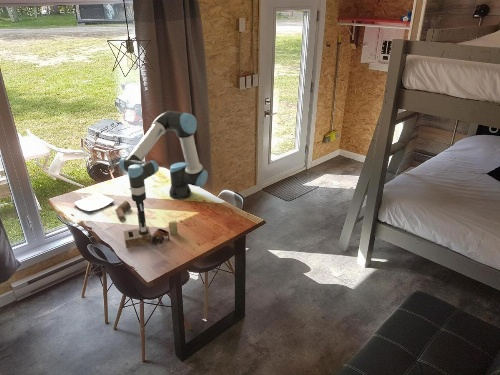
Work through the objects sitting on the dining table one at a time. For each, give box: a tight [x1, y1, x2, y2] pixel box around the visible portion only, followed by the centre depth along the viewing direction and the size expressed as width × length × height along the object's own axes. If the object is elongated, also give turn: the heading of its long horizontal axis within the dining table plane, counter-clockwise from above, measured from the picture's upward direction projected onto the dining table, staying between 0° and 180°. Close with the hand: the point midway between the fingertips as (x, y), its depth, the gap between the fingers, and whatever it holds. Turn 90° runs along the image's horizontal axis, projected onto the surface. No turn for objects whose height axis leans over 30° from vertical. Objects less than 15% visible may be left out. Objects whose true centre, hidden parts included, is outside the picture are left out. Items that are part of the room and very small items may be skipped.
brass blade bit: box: [168, 220, 179, 236], centre depth 226 cm, size 4×2×8 cm, turn 112°
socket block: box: [123, 226, 153, 249], centre depth 220 cm, size 14×10×5 cm
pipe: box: [114, 200, 132, 221], centre depth 246 cm, size 6×17×10 cm
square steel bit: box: [136, 209, 147, 234], centre depth 216 cm, size 4×4×14 cm
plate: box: [73, 192, 115, 213], centre depth 258 cm, size 20×20×3 cm
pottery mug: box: [151, 228, 170, 246], centre depth 219 cm, size 12×10×8 cm
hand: (143, 229), depth 219 cm, fingers closed on square steel bit, 4 cm apart
